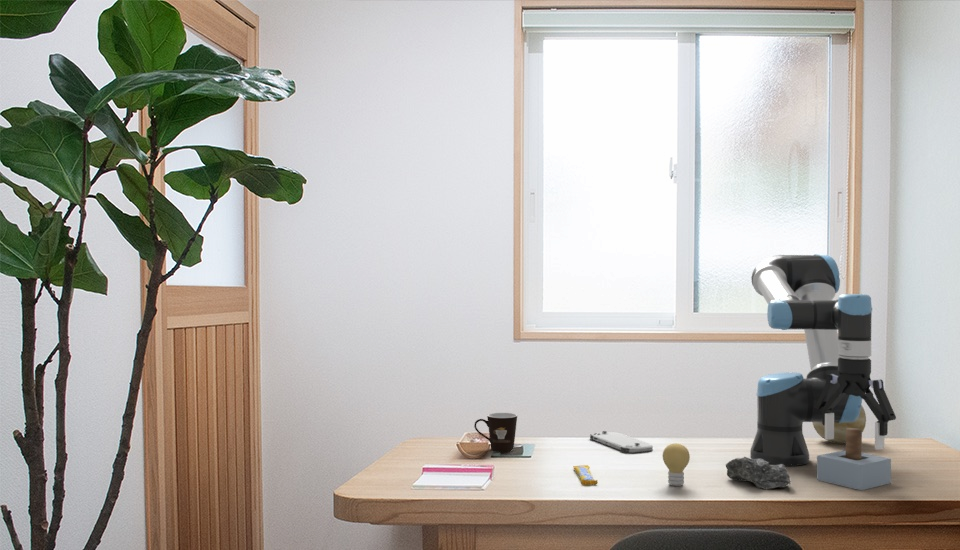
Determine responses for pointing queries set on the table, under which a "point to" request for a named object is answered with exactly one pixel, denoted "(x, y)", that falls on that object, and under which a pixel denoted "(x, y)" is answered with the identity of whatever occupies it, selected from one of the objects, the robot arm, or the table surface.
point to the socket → (854, 470)
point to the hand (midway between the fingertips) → (853, 444)
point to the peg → (854, 443)
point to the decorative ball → (842, 428)
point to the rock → (758, 472)
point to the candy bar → (585, 475)
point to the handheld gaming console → (621, 442)
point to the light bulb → (676, 462)
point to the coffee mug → (500, 431)
